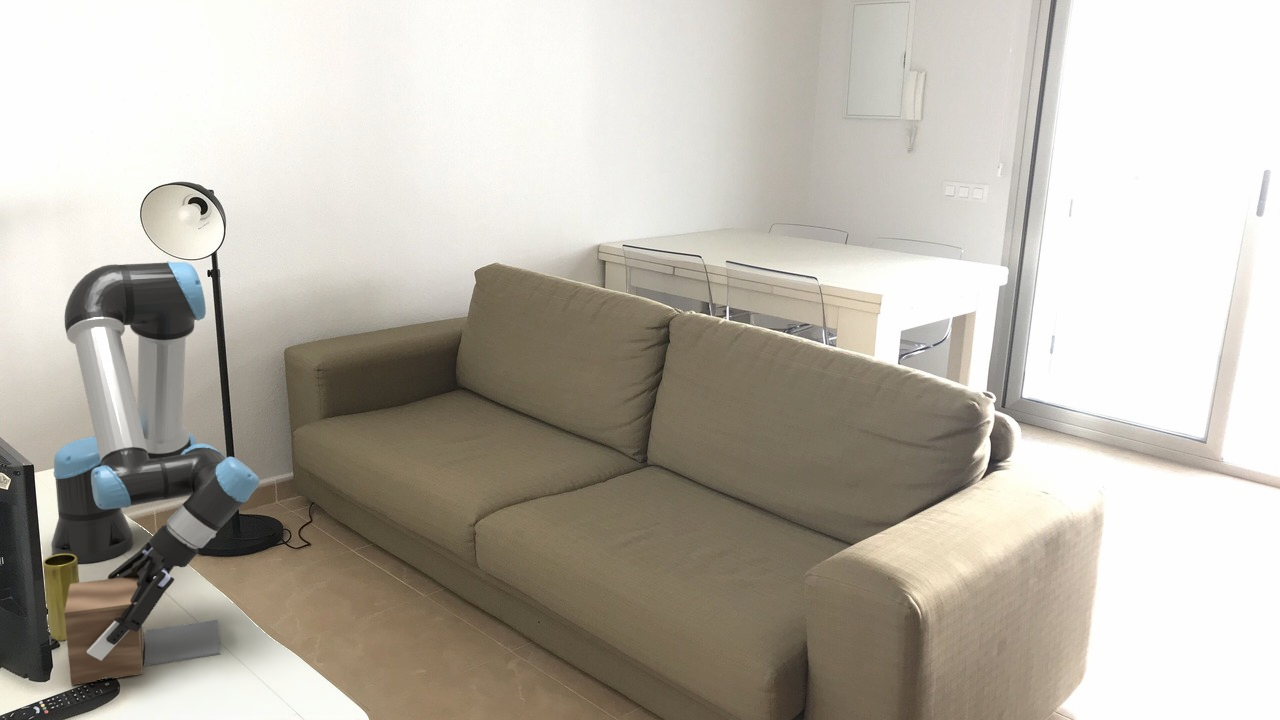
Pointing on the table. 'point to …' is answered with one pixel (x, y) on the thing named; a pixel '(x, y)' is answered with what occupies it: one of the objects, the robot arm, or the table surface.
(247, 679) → the table surface
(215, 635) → the mat
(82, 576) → the table surface
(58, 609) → the vase
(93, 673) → the brown wooden block
